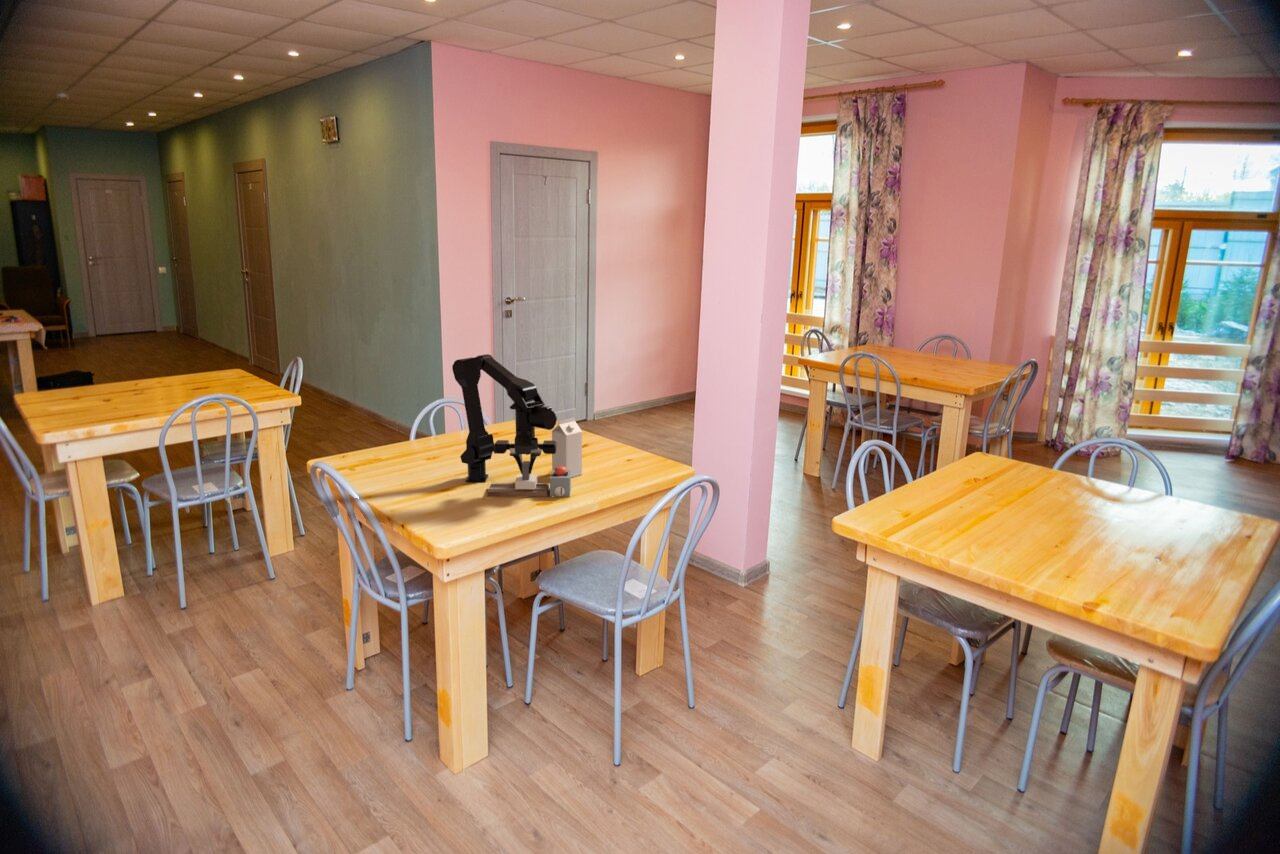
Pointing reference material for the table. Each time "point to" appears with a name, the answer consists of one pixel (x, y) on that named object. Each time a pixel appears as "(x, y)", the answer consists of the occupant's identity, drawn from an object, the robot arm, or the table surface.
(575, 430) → the milk carton
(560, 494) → the end cabinet
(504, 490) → the rail
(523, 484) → the carriage
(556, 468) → the button
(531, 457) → the robot arm
